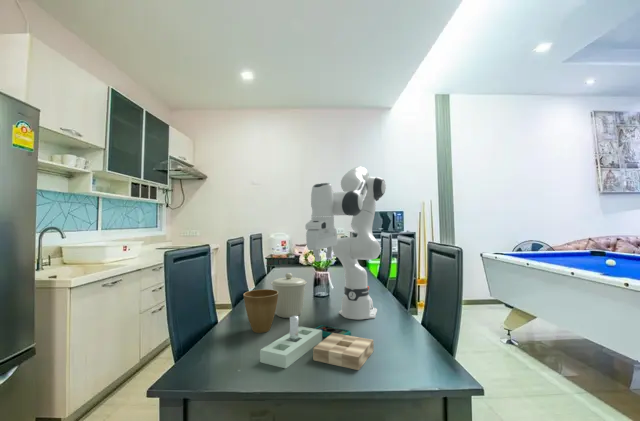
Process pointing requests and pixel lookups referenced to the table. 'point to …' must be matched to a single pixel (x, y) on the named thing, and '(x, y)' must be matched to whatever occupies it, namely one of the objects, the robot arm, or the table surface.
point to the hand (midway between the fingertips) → (323, 259)
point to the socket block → (344, 351)
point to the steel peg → (294, 328)
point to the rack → (290, 347)
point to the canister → (289, 295)
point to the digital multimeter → (332, 331)
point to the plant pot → (261, 308)
